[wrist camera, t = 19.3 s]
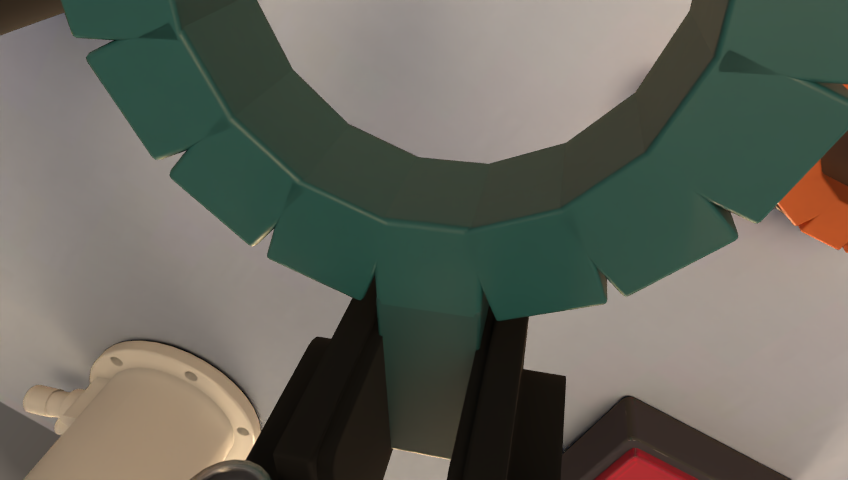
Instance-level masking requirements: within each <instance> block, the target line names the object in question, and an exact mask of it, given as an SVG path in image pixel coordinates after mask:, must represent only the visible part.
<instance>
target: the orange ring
mask: <svg viewBox="0 0 848 480" xmlns="http://www.w3.org/2000/svg"><path fill="white" fill-rule="evenodd" d="M843 85H844V86H845V87H846V88H847V89H848V84H843ZM778 205H779V207H780V208H781V209H782V211H783V212H784V213H785V215H786V216H787V217H788V218H789V220H790V221H791V222H792V224H793V225H795V226H799V228H800V230H801V232H803V233H805V234H807V235H809V236H811V237H813V238H815V239H817V240H819V241H821V242H823V243H825V244H827V245H829V246H831V247H833V248H835V249H837V250H839V249H841V248H842V247H843V248H844V250H845V252H847V253H848V186H846V185H844V184H842V183H840V182H838V181H836V180H834V179H832V178H830V177H829V176H827V175H825V174H823V172H822V168H821V159H820V160H819V161H818V162H817V163H816V164H815V165H814V166H813V167H812V168H811V169H810V170H809V171H808V172H807V174H806V175H805V176H804V177H803V178H802V179H801V180H800V181H799V182H798V183H797V184H796V185H795V186H794V187H793V188H792V189H791V190H790V191H789V192H788V194H787V195H786V196H785V197H784V198H783V199H782V200H781V201H780V202H779V203H778Z"/></svg>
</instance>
